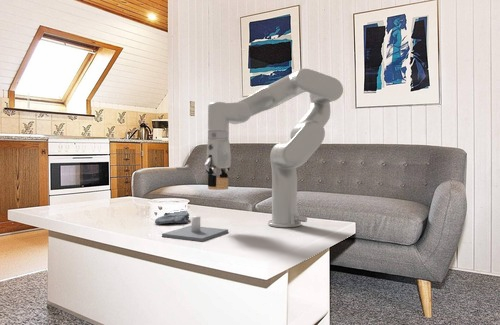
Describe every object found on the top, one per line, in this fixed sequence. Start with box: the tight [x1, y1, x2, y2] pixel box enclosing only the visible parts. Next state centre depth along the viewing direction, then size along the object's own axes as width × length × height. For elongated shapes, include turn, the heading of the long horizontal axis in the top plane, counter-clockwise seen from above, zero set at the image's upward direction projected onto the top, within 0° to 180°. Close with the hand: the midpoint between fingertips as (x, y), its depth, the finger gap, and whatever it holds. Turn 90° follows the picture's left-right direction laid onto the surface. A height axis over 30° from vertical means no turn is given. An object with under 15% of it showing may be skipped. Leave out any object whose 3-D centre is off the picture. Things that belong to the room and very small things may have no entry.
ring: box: [207, 176, 229, 191], centre depth 146 cm, size 7×7×4 cm
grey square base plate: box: [161, 215, 229, 242], centre depth 136 cm, size 16×16×6 cm
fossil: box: [154, 210, 190, 225], centre depth 162 cm, size 13×18×4 cm
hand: (218, 185), depth 146 cm, fingers closed on ring, 6 cm apart
